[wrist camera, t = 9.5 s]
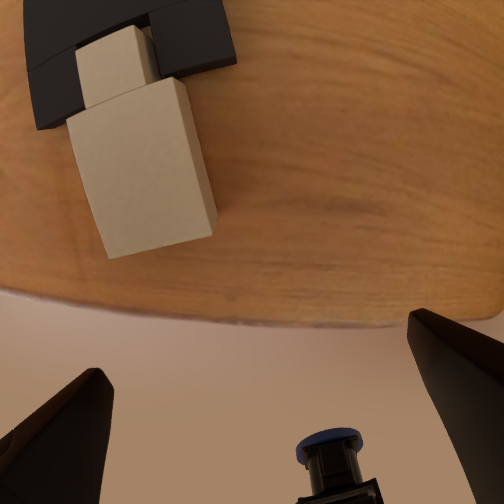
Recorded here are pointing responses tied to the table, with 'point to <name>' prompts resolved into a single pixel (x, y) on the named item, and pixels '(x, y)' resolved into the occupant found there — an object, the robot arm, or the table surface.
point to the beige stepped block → (138, 149)
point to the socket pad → (105, 23)
